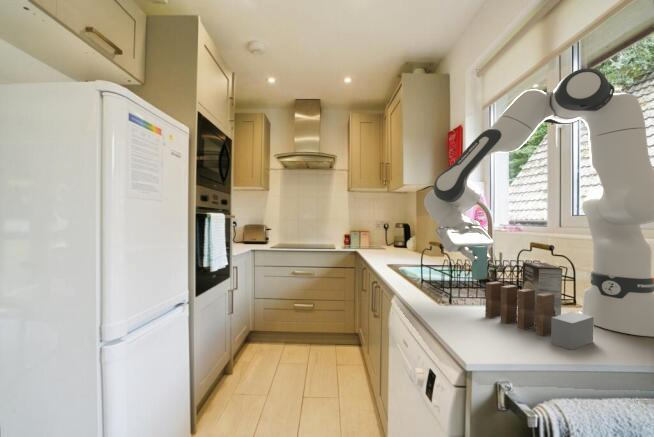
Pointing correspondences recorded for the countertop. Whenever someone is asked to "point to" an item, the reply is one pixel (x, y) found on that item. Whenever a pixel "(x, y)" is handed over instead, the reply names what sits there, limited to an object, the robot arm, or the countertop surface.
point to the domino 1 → (479, 262)
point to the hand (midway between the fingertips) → (481, 260)
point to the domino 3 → (509, 303)
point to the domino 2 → (493, 299)
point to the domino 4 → (526, 308)
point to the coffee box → (543, 282)
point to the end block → (572, 330)
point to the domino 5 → (544, 313)
